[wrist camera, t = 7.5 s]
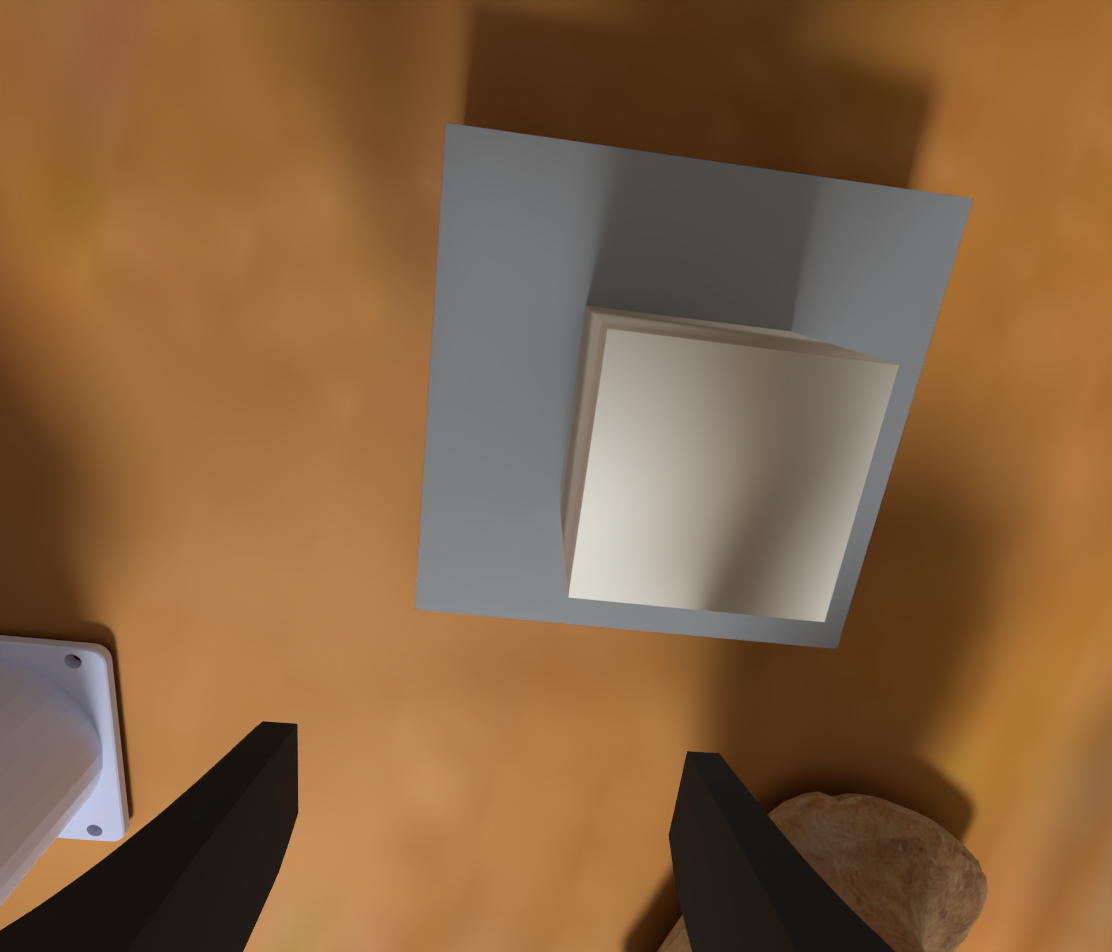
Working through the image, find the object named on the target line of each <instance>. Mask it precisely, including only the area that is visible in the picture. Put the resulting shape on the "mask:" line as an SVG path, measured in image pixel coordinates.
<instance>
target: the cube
mask: <svg viewBox="0 0 1112 952" xmlns="http://www.w3.org/2000/svg"><path fill="white" fill-rule="evenodd" d="M898 367H899V365H897V364H894V363H891V362H888V361H884V360H881V359H878V358H875V357H872V356H868V355H865V354H862V353H859V352H856V351H852V350H849V349H846V348H843V347H840V346H836V345H833V344H830V343H827V342H824V341H820V340H817V339H814V338H811V337H808V336H804V335H801V334H798V333H795V332H792V331H785V330H777V329H769V328H761V327H753V326H745V325H737V324H729V323H722V322H714V321H706V320H698V319H690V318H682V317H674V316H666V315H658V314H650V313H642V312H635V311H627V310H619V309H611V308H603V307H595V306H587V305H586V307H585V315H584V322H583V330H582V337H581V345H580V352H579V359H578V367H577V374H576V382H575V389H574V397H573V404H572V411H571V419H570V426H569V434H568V441H567V448H566V456H565V463H564V471H563V478H562V486H561V493H560V500H559V504H560V515H561V526H562V536H563V547H564V558H565V569H566V579H567V590H568V598H578V599H589V600H599V601H610V602H620V603H630V604H641V605H651V606H662V607H672V608H682V609H693V610H703V611H714V612H724V613H734V614H745V615H755V616H765V617H776V618H786V619H797V620H807V621H817V622H825V619H826V615H827V612H828V608H829V605H830V601H831V598H832V594H833V591H834V588H835V584H836V581H837V577H838V574H839V570H840V567H841V563H842V560H843V557H844V553H845V550H846V546H847V543H848V539H849V536H850V533H851V529H852V526H853V522H854V519H855V515H856V512H857V508H858V505H859V502H860V498H861V495H862V491H863V488H864V484H865V481H866V478H867V474H868V471H869V467H870V464H871V460H872V457H873V453H874V450H875V447H876V443H877V440H878V436H879V433H880V429H881V426H882V422H883V419H884V416H885V412H886V409H887V405H888V402H889V398H890V395H891V392H892V388H893V385H894V381H895V378H896V374H897V371H898Z"/></svg>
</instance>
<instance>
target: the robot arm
mask: <svg viewBox="0 0 1112 952" xmlns="http://www.w3.org/2000/svg"><path fill="white" fill-rule="evenodd" d="M73 655H76V656H77V657H79V658H80V660H81V661H79V660H77V659H75V658H74V656H73ZM297 815H298V741H297V724H292V723H278V722H262V723H260V724H259V725H258V726H256V727H255V728H254V729H253V730H252V731H251V732H250V733H249V734H248V735H247V736H246V737H245V738H244V739H242V740H241V741H240V742H239V743H238V744H237V745H236V746H235V747H234V748H233V749H232V750H231V751H230V752H229V753H228V754H226V755H225V756H224V757H223V758H222V759H221V760H220V761H219V762H218V763H217V764H216V765H215V766H213V767H212V768H211V769H210V770H209V771H208V772H207V773H206V774H205V775H204V776H203V777H201V778H200V779H199V780H198V781H197V782H196V783H195V784H193V785H192V786H191V787H190V788H189V789H188V790H187V791H186V792H184V793H183V794H182V795H181V796H180V797H179V798H178V799H176V800H175V801H174V802H173V803H172V804H171V805H170V806H168V807H167V808H166V809H165V810H164V811H163V812H161V813H160V814H159V815H158V816H157V817H155V818H154V819H153V820H152V821H151V822H149V823H148V824H147V825H146V826H144V827H143V828H142V829H141V830H139V831H138V832H137V833H136V834H134V835H133V836H132V837H131V838H130V839H128V840H127V841H126V842H125V843H123V844H122V845H121V846H120V847H118V848H117V849H116V850H115V851H113V852H112V853H111V854H110V855H108V856H107V857H106V858H104V859H103V860H102V861H100V862H99V863H98V864H96V865H95V866H94V867H92V868H91V869H90V870H88V871H87V872H86V873H84V874H83V875H82V876H80V877H79V878H78V879H76V880H75V881H73V882H72V883H71V884H69V885H68V886H66V887H65V888H63V889H62V890H61V891H59V892H58V893H56V894H55V895H54V896H52V897H51V898H49V899H48V900H47V901H45V902H44V903H42V904H41V905H39V906H38V907H36V908H35V909H33V910H32V911H30V912H29V913H27V914H26V915H24V916H22V917H21V918H19V919H18V920H16V921H15V922H13V923H11V924H10V925H8V926H7V927H5V928H3V929H2V930H0V952H243V951H244V948H245V946H246V944H247V942H248V940H249V937H250V935H251V933H252V931H253V929H254V926H255V924H256V922H257V920H258V918H259V915H260V913H261V911H262V909H263V906H264V904H265V902H266V900H267V898H268V895H269V893H270V891H271V889H272V886H273V884H274V882H275V879H276V877H277V875H278V873H279V870H280V867H281V864H282V861H283V858H284V855H285V852H286V849H287V846H288V843H289V840H290V837H291V834H292V831H293V827H294V824H295V821H296V818H297ZM129 825H130V823H129V814H128V804H127V795H126V786H125V776H124V767H123V757H122V748H121V738H120V729H119V719H118V710H117V700H116V691H115V681H114V672H113V663H112V656H111V654H110V652H109V651H108V650H107V648H105V647H103V646H102V645H99V644H95V643H84V642H73V641H62V640H50V639H39V638H28V637H16V636H5V635H0V906H1V905H2V904H3V903H4V902H5V900H6V899H7V898H8V897H9V895H10V894H11V893H12V892H13V891H14V889H15V888H16V887H17V886H18V884H19V883H20V882H21V881H22V880H23V878H24V877H25V876H26V875H27V873H28V872H29V871H30V870H31V869H32V867H33V866H34V865H35V864H36V862H37V861H38V860H39V859H40V858H41V856H42V855H43V854H44V853H45V851H46V850H47V849H48V848H49V847H50V845H51V844H52V843H53V842H54V840H55V839H56V838H70V839H85V840H99V841H117V840H119V839H121V838H122V837H123V836H124V835H125V833H126V832H127V830H128V829H129ZM669 841H670V848H671V855H672V863H673V870H674V876H675V883H676V889H677V895H678V899H679V903H680V907H681V911H682V915H683V919H684V923H685V926H686V930H687V934H688V938H689V942H690V946H691V950H692V952H896V951H895V950H893V949H892V948H891V947H890V946H889V945H888V944H887V943H886V942H885V941H884V940H883V939H882V938H881V937H880V936H879V935H878V934H877V933H876V932H874V931H873V930H872V929H871V928H870V927H869V926H868V925H867V924H866V923H865V922H864V921H863V920H862V919H861V918H860V917H859V916H858V915H857V914H856V913H855V912H854V911H853V910H852V909H851V908H850V907H849V906H848V905H847V904H846V903H845V902H844V901H843V900H842V899H841V898H840V897H839V896H838V895H837V894H836V893H835V892H834V890H833V889H832V888H831V887H830V886H829V885H828V884H827V883H826V882H825V881H824V880H823V879H822V878H821V877H820V875H819V874H818V873H817V872H816V871H815V870H814V869H813V868H812V867H811V866H810V864H809V863H808V862H807V861H806V860H805V859H804V858H803V857H802V855H801V854H800V853H799V852H798V851H797V850H796V848H795V847H794V846H793V845H792V844H791V843H790V841H789V840H788V839H787V838H786V837H785V835H784V834H783V833H782V832H781V831H780V829H779V828H778V827H777V826H776V825H775V823H774V822H773V821H772V820H771V819H770V817H769V816H768V815H767V814H766V812H765V811H764V810H763V809H762V807H761V806H760V805H759V804H758V802H757V801H756V800H755V799H754V797H753V796H752V795H751V793H750V792H749V791H748V790H747V788H746V787H745V786H744V785H743V783H742V782H741V781H740V779H739V778H738V777H737V776H736V774H735V773H734V772H733V771H732V769H731V768H730V767H729V766H728V764H727V763H726V762H725V761H724V759H723V758H722V757H721V755H720V754H718V753H704V752H690V751H687V755H686V760H685V764H684V769H683V773H682V778H681V782H680V787H679V791H678V796H677V800H676V805H675V809H674V814H673V818H672V823H671V828H670V832H669Z"/></svg>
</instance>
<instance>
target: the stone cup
mask: <svg viewBox="0 0 1112 952" xmlns="http://www.w3.org/2000/svg"><path fill="white" fill-rule="evenodd" d="M767 815H768V816H769V817H770V819H771V820H772V821H773V822H774V823H775V825H776V826H777V827H778V828H779V829H780V831H781V832H782V833H783V834H784V835H785V837H786V838H787V839H788V840H789V841H790V843H791V844H792V845H793V846H794V847H795V848H796V850H797V851H798V852H799V853H800V854H801V855H802V857H803V858H804V859H805V860H806V861H807V862H808V863H809V864H810V866H811V867H812V868H813V869H814V870H815V871H816V872H817V873H818V874H819V875H820V877H821V878H822V879H823V880H824V881H825V882H826V883H827V884H828V885H829V886H830V887H831V888H832V889H833V890H834V892H835V893H836V894H837V895H838V896H839V897H840V898H841V899H842V900H843V901H844V902H845V903H846V904H847V905H848V906H849V907H850V908H851V909H852V910H853V911H854V912H855V913H856V914H857V915H858V916H859V917H860V918H861V919H862V920H863V921H864V922H865V923H866V924H867V925H868V926H869V927H870V928H871V929H872V930H873V931H874V932H876V933H877V934H878V935H879V936H880V937H881V938H882V939H883V940H884V941H885V942H886V943H887V944H888V945H889V946H890V947H891V948H892V949H893V950H895V951H896V952H955V951H956V950H957V949H958V947H959V946H960V945H961V944H962V942H963V941H964V940H965V938H966V937H967V935H968V934H969V932H970V930H971V929H972V927H973V926H974V924H975V922H976V921H977V919H978V918H979V916H980V914H981V912H982V910H983V907H984V904H985V901H986V897H987V893H988V890H987V881H986V876H985V875H984V873H983V872H982V870H981V867H980V864H979V862H978V860H977V859H976V858H975V857H974V856H973V855H972V854H971V853H970V852H969V851H968V850H967V848H966V847H965V846H964V845H963V844H962V843H961V842H960V841H959V840H958V839H957V838H956V837H955V836H953V835H952V834H951V833H949V832H948V831H947V830H946V829H944V828H943V827H942V826H940V825H939V824H938V823H936V822H934V821H933V820H931V819H930V818H928V817H926V816H924V815H922V814H920V813H918V812H916V811H913V810H910V809H908V808H905V807H903V806H900V805H897V804H895V803H893V802H890V801H888V800H885V799H883V798H879V797H875V796H870V795H865V794H850V793H845V794H841V795H836V796H829V795H827V794H824V793H821V792H819V791H818V792H811V793H805V794H801V795H799V796H796V797H794V798H792V799H789V800H787V801H785V802H783V803H782V804H780V805H779V806H777V807H776V808H774V809H773V810H772V811H771V812H770V813H769V814H767ZM657 952H692V950H691V946H690V942H689V938H688V934H687V930H686V926H685V923H684V919H683V915H682V916H681V917H680V918H679V920H678V921H677V923H676V924H675V925H674V927H673V928H672V930H671V931H670V933H669V934H668V936H667V937H666V939H665V941H664V942H663V944H662V945H661V947H660V948H659V950H658V951H657Z"/></svg>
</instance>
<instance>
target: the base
mask: <svg viewBox="0 0 1112 952" xmlns="http://www.w3.org/2000/svg"><path fill="white" fill-rule="evenodd" d="M972 201H973V198H966V197H959V196H952V195H945V194H939V193H932V192H925V191H918V190H911V189H904V188H897V187H890V186H883V185H876V184H869V183H862V182H855V181H848V180H841V179H834V178H827V177H820V176H813V175H806V174H799V173H793V172H786V171H779V170H772V169H765V168H758V167H751V166H744V165H737V164H730V163H723V162H716V161H709V160H702V159H695V158H688V157H681V156H674V155H667V154H660V153H653V152H647V151H640V150H633V149H626V148H619V147H612V146H605V145H598V144H591V143H584V142H577V141H570V140H563V139H556V138H549V137H542V136H535V135H528V134H521V133H514V132H507V131H500V130H494V129H487V128H480V127H473V126H466V125H459V124H452V123H446V127H445V143H444V158H443V174H442V190H441V205H440V221H439V237H438V252H437V268H436V284H435V299H434V315H433V331H432V346H431V362H430V378H429V393H428V409H427V425H426V440H425V456H424V472H423V487H422V503H421V519H420V534H419V550H418V566H417V581H416V597H415V609H416V610H426V611H437V612H448V613H458V614H469V615H480V616H490V617H501V618H511V619H522V620H533V621H543V622H554V623H565V624H575V625H586V626H597V627H607V628H618V629H628V630H639V631H650V632H660V633H671V634H682V635H692V636H703V637H713V638H724V639H735V640H745V641H756V642H767V643H777V644H788V645H799V646H809V647H820V648H830V649H837V647H838V644H839V640H840V637H841V634H842V630H843V627H844V624H845V621H846V617H847V614H848V611H849V607H850V604H851V601H852V597H853V594H854V591H855V588H856V584H857V581H858V578H859V574H860V571H861V568H862V564H863V561H864V558H865V555H866V551H867V548H868V545H869V541H870V538H871V535H872V531H873V528H874V525H875V522H876V518H877V515H878V512H879V508H880V505H881V502H882V498H883V495H884V492H885V489H886V485H887V482H888V479H889V475H890V472H891V469H892V465H893V462H894V459H895V456H896V452H897V449H898V446H899V442H900V439H901V436H902V432H903V429H904V426H905V423H906V419H907V416H908V413H909V409H910V406H911V403H912V399H913V396H914V393H915V389H916V386H917V383H918V380H919V376H920V373H921V370H922V366H923V363H924V360H925V356H926V353H927V350H928V347H929V343H930V340H931V337H932V333H933V330H934V327H935V323H936V320H937V317H938V314H939V310H940V307H941V304H942V300H943V297H944V294H945V290H946V287H947V284H948V281H949V277H950V274H951V271H952V267H953V264H954V261H955V257H956V254H957V251H958V248H959V244H960V241H961V238H962V234H963V231H964V228H965V224H966V221H967V218H968V215H969V211H970V208H971V205H972ZM586 305H587V306H595V307H603V308H611V309H619V310H627V311H635V312H642V313H650V314H658V315H666V316H674V317H682V318H690V319H698V320H706V321H714V322H722V323H729V324H737V325H745V326H753V327H761V328H769V329H777V330H785V331H792V332H795V333H798V334H801V335H804V336H808V337H811V338H814V339H817V340H820V341H824V342H827V343H830V344H833V345H836V346H840V347H843V348H846V349H849V350H852V351H856V352H859V353H862V354H865V355H868V356H872V357H875V358H878V359H881V360H884V361H888V362H891V363H894V364H897V365H899V367H898V371H897V374H896V378H895V381H894V385H893V388H892V392H891V395H890V398H889V402H888V405H887V409H886V412H885V416H884V419H883V422H882V426H881V429H880V433H879V436H878V440H877V443H876V447H875V450H874V453H873V457H872V460H871V464H870V467H869V471H868V474H867V478H866V481H865V484H864V488H863V491H862V495H861V498H860V502H859V505H858V508H857V512H856V515H855V519H854V522H853V526H852V529H851V533H850V536H849V539H848V543H847V546H846V550H845V553H844V557H843V560H842V563H841V567H840V570H839V574H838V577H837V581H836V584H835V588H834V591H833V594H832V598H831V601H830V605H829V608H828V612H827V615H826V619H825V622H817V621H807V620H797V619H786V618H776V617H765V616H755V615H745V614H734V613H724V612H714V611H703V610H693V609H682V608H672V607H662V606H651V605H641V604H630V603H620V602H610V601H599V600H589V599H578V598H568V590H567V579H566V569H565V558H564V547H563V536H562V526H561V515H560V504H559V500H560V493H561V486H562V478H563V471H564V463H565V456H566V448H567V441H568V434H569V426H570V419H571V411H572V404H573V397H574V389H575V382H576V374H577V367H578V359H579V352H580V345H581V337H582V330H583V322H584V315H585V307H586Z"/></svg>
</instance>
